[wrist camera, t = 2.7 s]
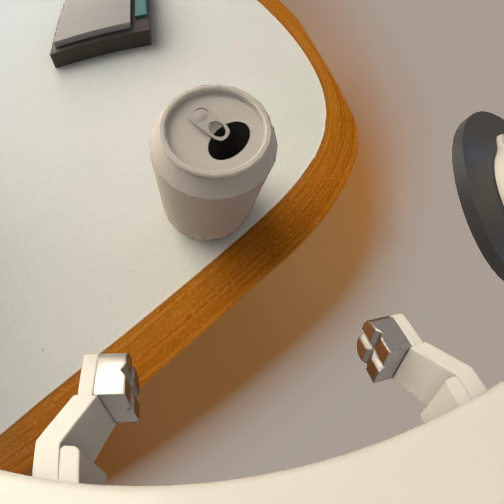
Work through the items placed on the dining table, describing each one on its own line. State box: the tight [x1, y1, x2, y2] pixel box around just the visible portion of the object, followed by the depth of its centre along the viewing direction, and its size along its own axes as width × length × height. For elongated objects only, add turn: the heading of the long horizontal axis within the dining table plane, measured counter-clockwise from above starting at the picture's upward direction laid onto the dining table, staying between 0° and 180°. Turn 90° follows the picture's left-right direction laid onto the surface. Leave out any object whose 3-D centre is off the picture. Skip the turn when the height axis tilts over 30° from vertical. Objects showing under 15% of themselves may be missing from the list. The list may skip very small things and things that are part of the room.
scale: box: [50, 0, 152, 68], centre depth 28 cm, size 12×12×4 cm
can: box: [150, 84, 278, 241], centre depth 22 cm, size 8×8×12 cm
